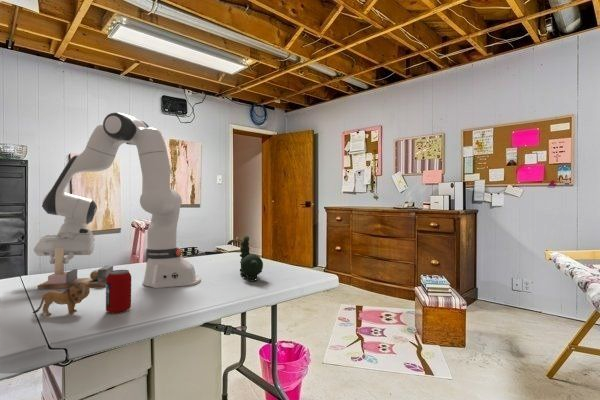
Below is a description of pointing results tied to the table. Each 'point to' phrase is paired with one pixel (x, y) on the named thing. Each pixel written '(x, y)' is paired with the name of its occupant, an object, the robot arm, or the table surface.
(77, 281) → the press base
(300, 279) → the table surface
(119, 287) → the beverage can
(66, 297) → the lion figurine
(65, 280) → the press slider
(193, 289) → the table surface
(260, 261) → the toy figurine
